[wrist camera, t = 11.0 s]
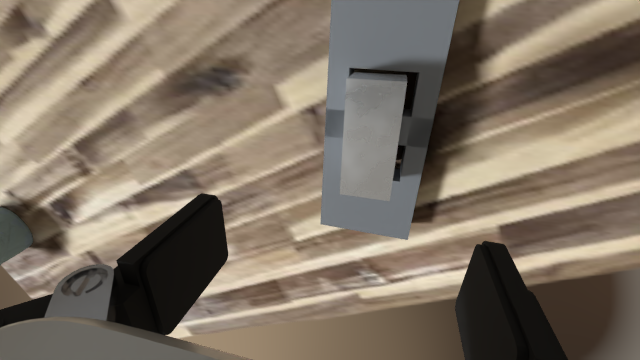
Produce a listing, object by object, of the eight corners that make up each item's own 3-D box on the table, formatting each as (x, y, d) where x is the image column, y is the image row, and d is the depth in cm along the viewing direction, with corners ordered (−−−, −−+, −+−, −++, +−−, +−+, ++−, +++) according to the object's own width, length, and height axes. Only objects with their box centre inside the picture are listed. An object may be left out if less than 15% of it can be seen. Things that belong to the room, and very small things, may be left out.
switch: (340, -19, 24) (332, -26, 21) (457, -18, 22) (464, -25, 20) (326, 209, 34) (320, 224, 31) (407, 223, 32) (407, 239, 29)
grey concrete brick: (360, 68, 26) (346, 78, 20) (406, 70, 26) (407, 81, 19) (353, 160, 30) (339, 194, 24) (392, 164, 30) (389, 201, 23)
